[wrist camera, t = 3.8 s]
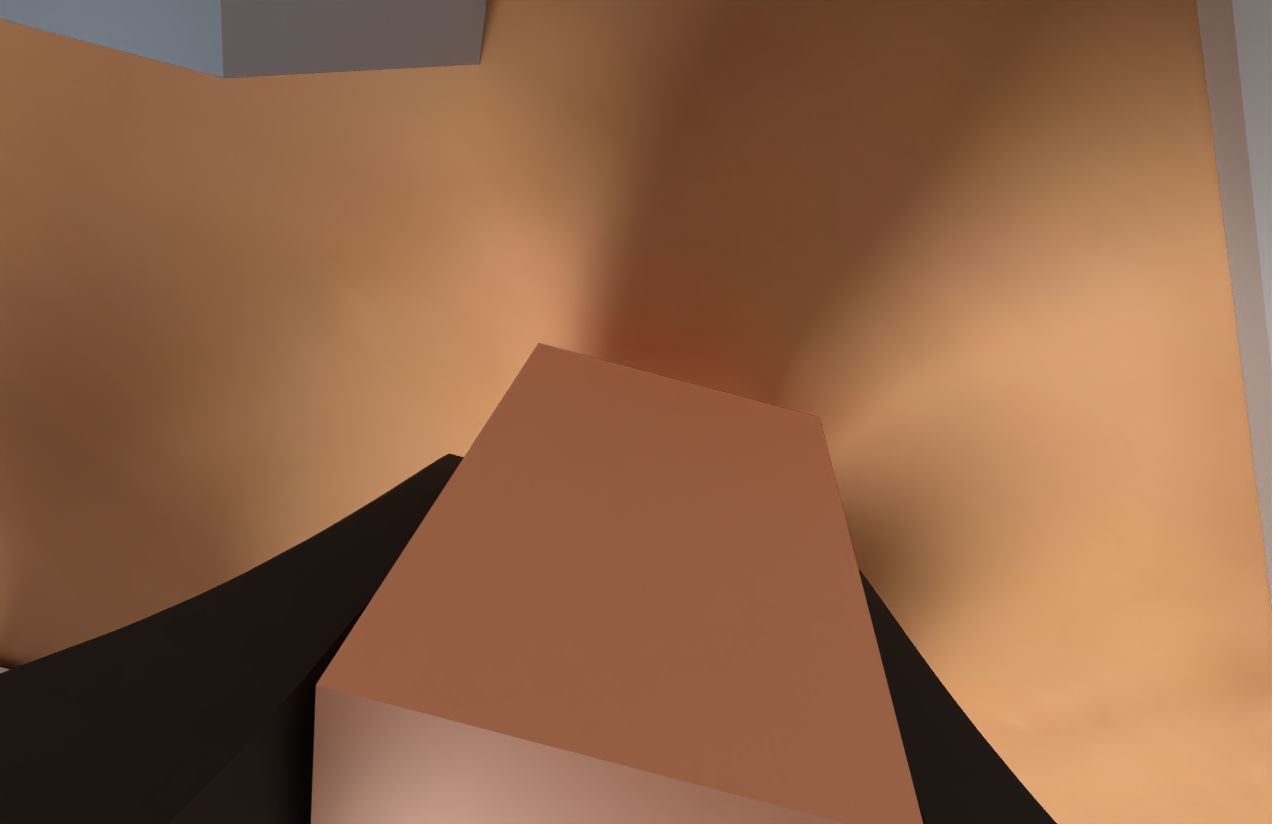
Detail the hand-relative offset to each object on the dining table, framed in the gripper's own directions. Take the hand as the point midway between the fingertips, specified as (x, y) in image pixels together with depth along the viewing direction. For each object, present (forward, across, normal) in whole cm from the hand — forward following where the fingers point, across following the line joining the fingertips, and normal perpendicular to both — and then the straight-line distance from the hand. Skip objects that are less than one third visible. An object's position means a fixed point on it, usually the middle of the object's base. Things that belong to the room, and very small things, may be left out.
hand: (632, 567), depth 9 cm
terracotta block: (+2, 0, 0) cm, 2 cm away
